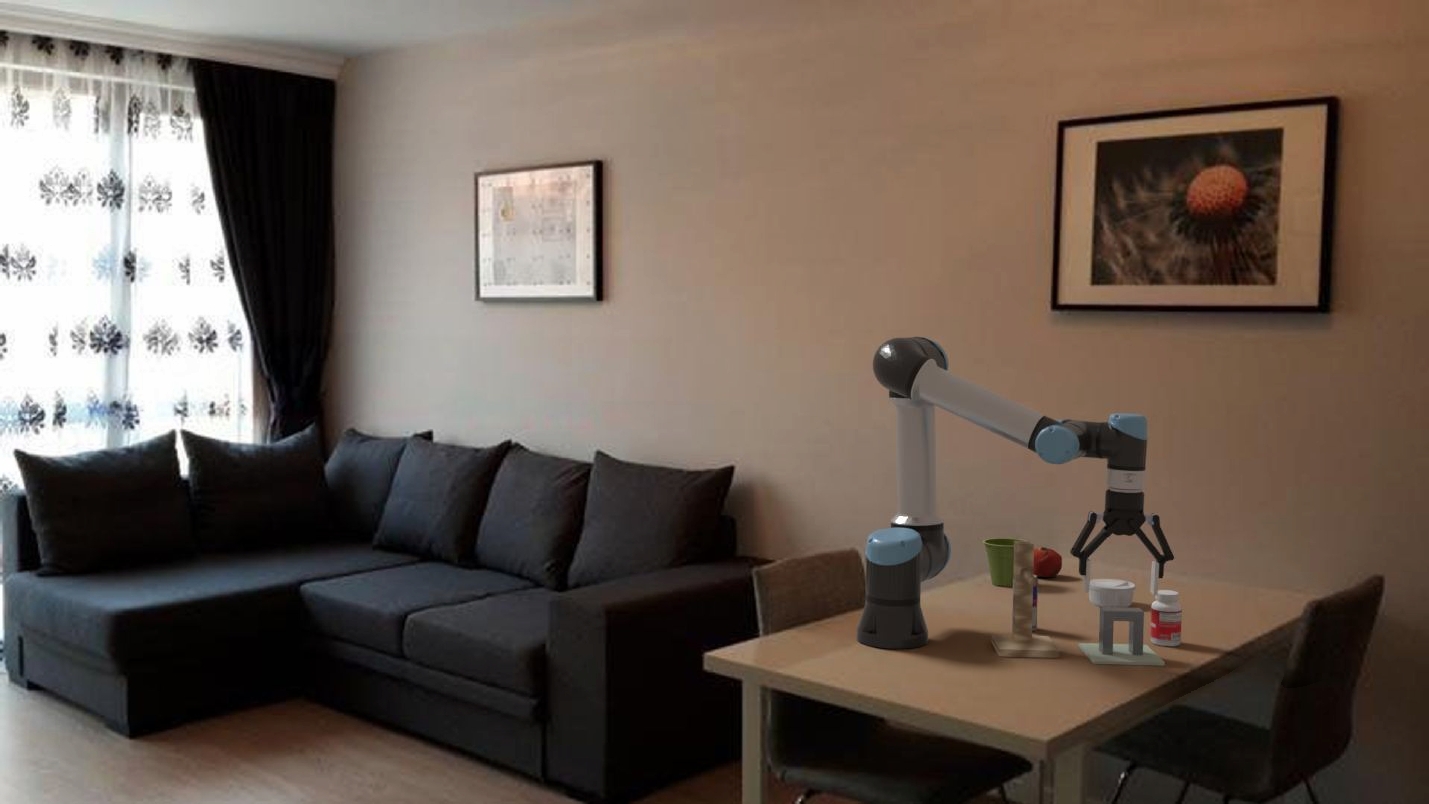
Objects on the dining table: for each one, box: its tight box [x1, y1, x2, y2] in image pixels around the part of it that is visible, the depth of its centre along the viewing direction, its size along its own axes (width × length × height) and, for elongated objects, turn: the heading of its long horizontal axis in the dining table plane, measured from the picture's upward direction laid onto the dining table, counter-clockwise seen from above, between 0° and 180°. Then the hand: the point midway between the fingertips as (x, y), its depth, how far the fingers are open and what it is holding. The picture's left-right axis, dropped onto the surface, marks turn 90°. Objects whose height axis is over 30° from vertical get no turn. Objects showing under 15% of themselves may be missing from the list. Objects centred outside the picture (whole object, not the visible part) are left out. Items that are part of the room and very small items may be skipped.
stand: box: [990, 540, 1060, 659], centre depth 264 cm, size 12×15×22 cm
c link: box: [1098, 607, 1145, 655], centre depth 261 cm, size 8×4×9 cm, turn 86°
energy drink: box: [1011, 574, 1039, 632], centre depth 283 cm, size 5×5×12 cm
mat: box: [1078, 642, 1166, 666], centre depth 262 cm, size 14×14×1 cm
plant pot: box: [982, 537, 1027, 587], centre depth 331 cm, size 12×12×11 cm
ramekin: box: [1088, 578, 1136, 608], centre depth 308 cm, size 11×11×5 cm
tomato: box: [1033, 546, 1063, 578], centre depth 341 cm, size 9×9×8 cm
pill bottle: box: [1150, 589, 1183, 648], centre depth 271 cm, size 6×6×11 cm
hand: (1119, 592), depth 261 cm, fingers open, 13 cm apart
